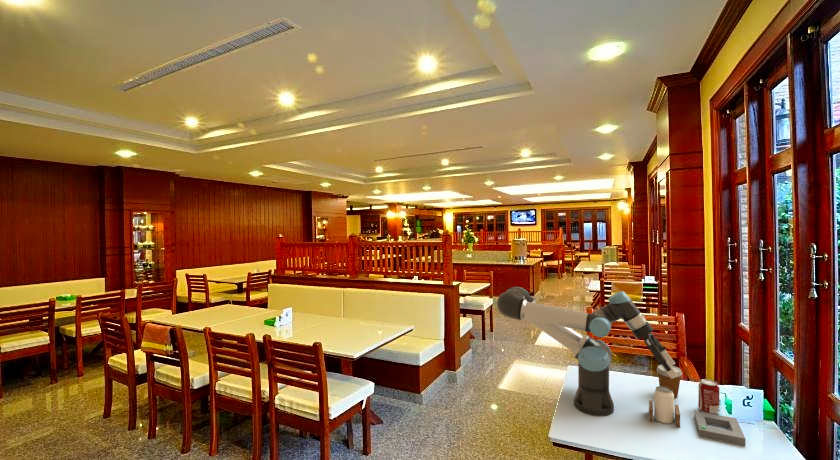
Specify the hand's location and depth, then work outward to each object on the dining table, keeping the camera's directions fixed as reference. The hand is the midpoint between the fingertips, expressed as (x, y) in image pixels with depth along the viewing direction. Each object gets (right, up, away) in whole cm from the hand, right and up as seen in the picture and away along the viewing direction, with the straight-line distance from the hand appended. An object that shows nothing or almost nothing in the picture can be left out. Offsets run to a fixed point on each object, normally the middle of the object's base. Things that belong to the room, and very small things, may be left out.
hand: (673, 371), depth 164 cm
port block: (+6, -16, -16) cm, 24 cm away
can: (-9, -16, -8) cm, 20 cm away
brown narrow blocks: (-9, -16, -8) cm, 20 cm away
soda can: (+12, -15, -3) cm, 20 cm away
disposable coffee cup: (+5, -15, +11) cm, 19 cm away
